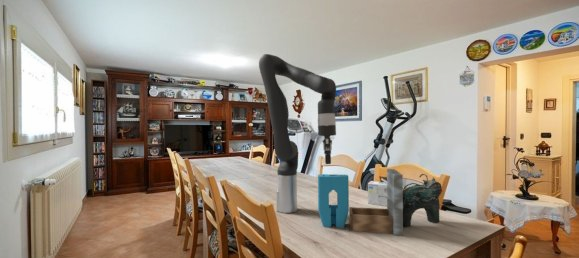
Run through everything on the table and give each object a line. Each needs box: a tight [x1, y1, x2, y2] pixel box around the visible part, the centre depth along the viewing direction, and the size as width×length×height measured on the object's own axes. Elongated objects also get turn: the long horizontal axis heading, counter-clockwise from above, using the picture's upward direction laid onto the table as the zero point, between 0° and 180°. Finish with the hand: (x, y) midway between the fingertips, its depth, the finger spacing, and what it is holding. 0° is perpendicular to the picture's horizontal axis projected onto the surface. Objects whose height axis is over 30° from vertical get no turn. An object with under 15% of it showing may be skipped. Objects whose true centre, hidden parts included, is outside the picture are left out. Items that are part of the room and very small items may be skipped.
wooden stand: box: [348, 168, 404, 237], centre depth 105 cm, size 18×14×22 cm
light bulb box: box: [367, 180, 387, 207], centre depth 137 cm, size 11×7×11 cm, turn 58°
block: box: [317, 173, 350, 228], centre depth 108 cm, size 12×5×20 cm, turn 83°
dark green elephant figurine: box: [403, 173, 443, 228], centre depth 108 cm, size 20×6×20 cm, turn 108°
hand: (328, 162), depth 113 cm, fingers open, 8 cm apart
